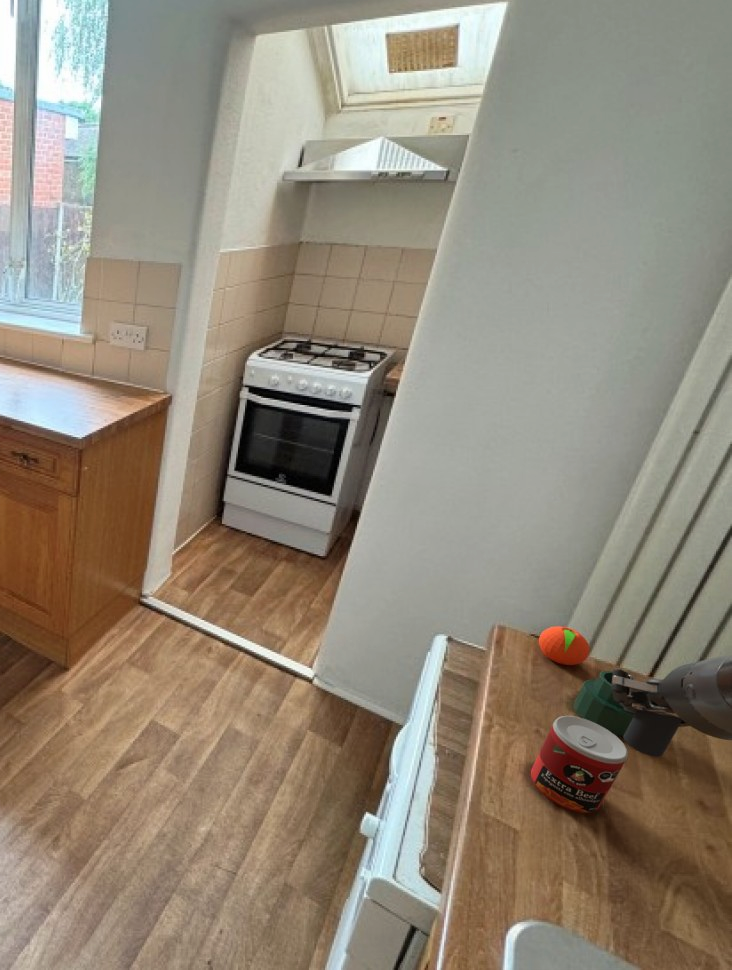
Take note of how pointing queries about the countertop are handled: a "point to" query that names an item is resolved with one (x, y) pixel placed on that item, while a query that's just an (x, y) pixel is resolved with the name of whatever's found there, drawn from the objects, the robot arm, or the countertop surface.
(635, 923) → the countertop surface
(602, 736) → the canned food
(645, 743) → the plug
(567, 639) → the clementine
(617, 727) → the green pipe coupling
